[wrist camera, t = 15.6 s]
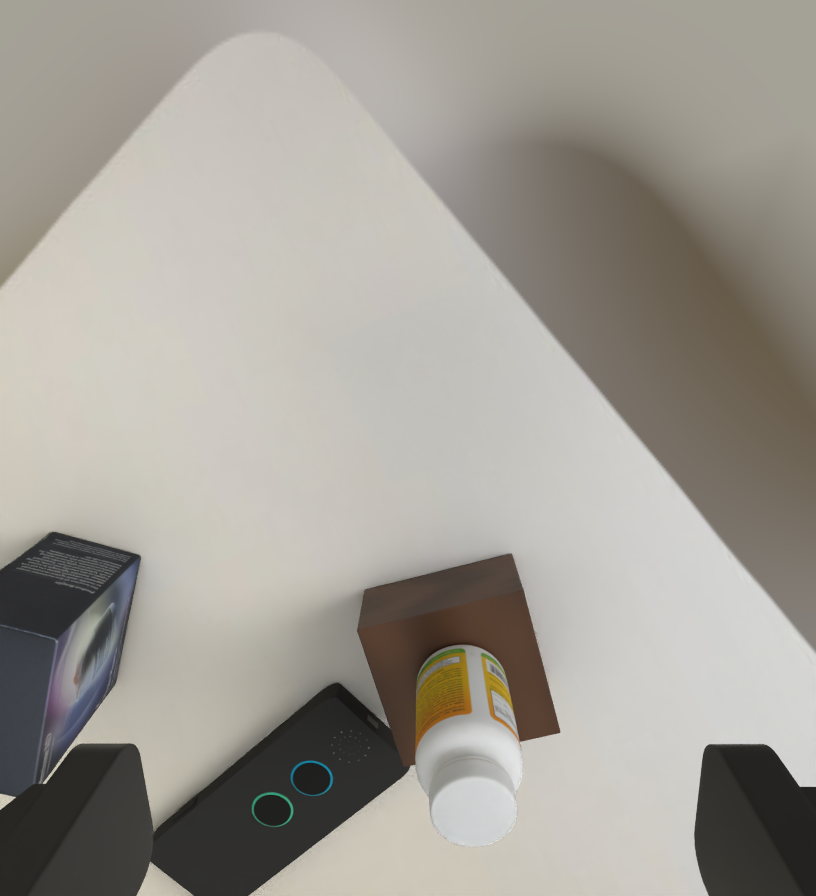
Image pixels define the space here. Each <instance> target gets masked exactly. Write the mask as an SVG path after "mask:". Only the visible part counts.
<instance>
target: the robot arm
mask: <svg viewBox="0 0 816 896" xmlns="http://www.w3.org/2000/svg"><path fill="white" fill-rule="evenodd" d="M694 837H695V850H696V856H697V861H698V866H699V870H700V873H701V877H702V880H703V883H704V885H705V888H706V890H707V892H708V895H709V896H816V787H799V785H798V784H797V782H796V781H795V780H794V778H793V777H792V775H791V774H790V772H789V771H788V770H787V768H786V767H785V765H784V764H783V763H782V761H781V760H780V758H779V757H778V755H777V754H776V753H775V752H774V750H773V749H772V748H770V747H769V746H767V745H764V744H710V745H708V746H706V748H705V750H704V753H703V759H702V768H701V777H700V786H699V795H698V804H697V813H696V822H695V833H694ZM152 848H153V824H152V818H151V812H150V807H149V801H148V796H147V790H146V785H145V779H144V774H143V768H142V763H141V757H140V753H139V750H138V748H137V747H136V746H135V745H134V744H79V745H77V746H76V747H74V748H73V749H72V750H71V751H70V752H69V754H68V755H67V756H66V758H65V759H64V760H63V762H62V763H61V764H60V766H59V767H58V768H57V770H56V771H55V772H54V774H53V775H52V776H51V778H50V779H49V780H48V782H47V783H46V784H33V785H32V786H30V787H29V788H28V789H26V790H25V791H24V792H23V793H21V794H20V795H19V796H18V797H16V798H15V799H14V800H13V801H11V802H10V803H9V804H7V805H6V806H5V807H4V808H2V809H1V810H0V896H136V895H137V893H138V891H139V889H140V887H141V885H142V883H143V880H144V878H145V876H146V873H147V870H148V866H149V863H150V859H151V854H152Z"/></svg>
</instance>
